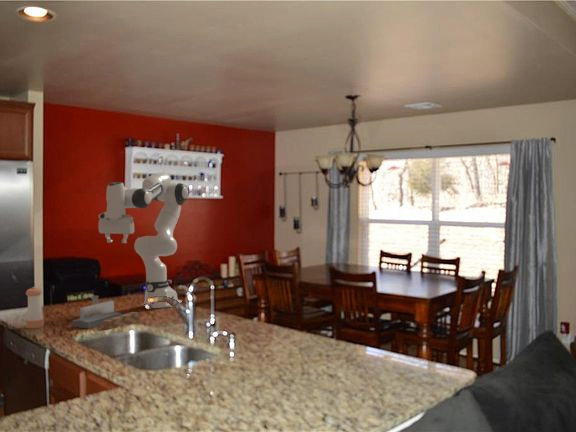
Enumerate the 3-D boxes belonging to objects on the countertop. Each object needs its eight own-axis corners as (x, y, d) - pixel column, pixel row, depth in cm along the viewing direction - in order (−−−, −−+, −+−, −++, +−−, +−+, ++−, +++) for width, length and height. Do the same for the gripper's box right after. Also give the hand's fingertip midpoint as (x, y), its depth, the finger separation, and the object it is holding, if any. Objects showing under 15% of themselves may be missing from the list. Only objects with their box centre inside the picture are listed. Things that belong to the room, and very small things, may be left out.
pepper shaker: (46, 324, 267) (44, 285, 266) (38, 328, 260) (36, 288, 259) (32, 324, 268) (30, 285, 267) (23, 328, 261) (21, 288, 260)
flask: (93, 317, 282) (93, 297, 282) (85, 315, 286) (84, 296, 286) (106, 314, 288) (105, 295, 287) (97, 313, 292) (97, 294, 292)
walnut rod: (132, 319, 276) (131, 311, 275) (138, 320, 274) (138, 312, 274) (103, 329, 257) (103, 320, 257) (110, 329, 256) (109, 321, 256)
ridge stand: (106, 317, 281) (105, 299, 281) (121, 318, 277) (121, 300, 277) (72, 327, 262) (72, 308, 261) (88, 328, 257) (88, 309, 257)
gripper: (137, 214, 271) (137, 242, 272) (105, 214, 280) (105, 242, 280) (128, 215, 266) (128, 243, 266) (96, 215, 274) (96, 242, 275)
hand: (116, 242), depth 273 cm, fingers open, 8 cm apart
